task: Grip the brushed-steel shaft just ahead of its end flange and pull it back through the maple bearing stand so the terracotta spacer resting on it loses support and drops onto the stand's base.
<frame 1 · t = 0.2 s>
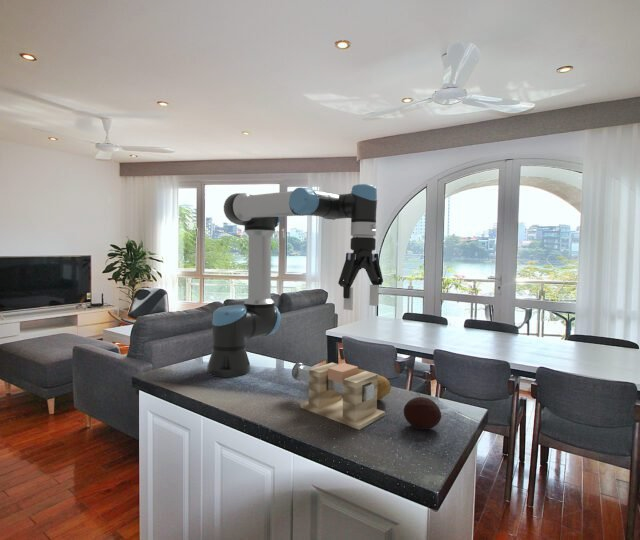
hand: (361, 307, 118), 27 cm above the counter, fingers open, 13 cm apart
potato: (369, 399, 117), on the counter
spacer: (342, 378, 107), point 9 cm above the counter, touching shaft
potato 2: (421, 428, 98), on the counter
bearing stand: (342, 411, 107), on the counter
shaft: (331, 381, 110), point 7 cm above the counter, slide at 0.0 cm, touching spacer
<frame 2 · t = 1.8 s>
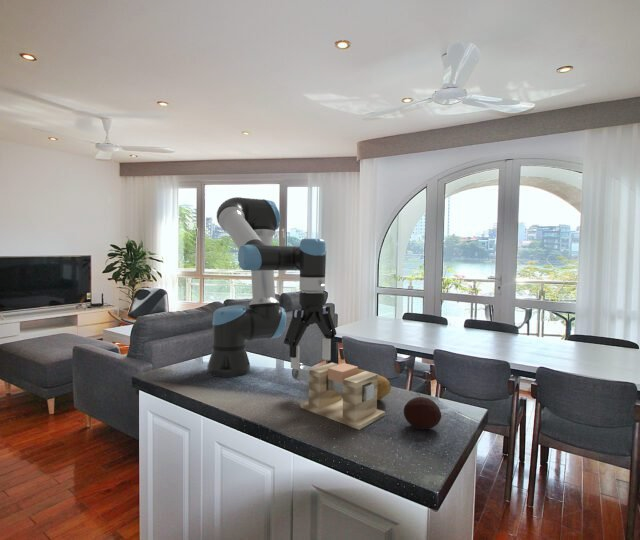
hand: (311, 364, 114), 11 cm above the counter, fingers open, 13 cm apart
nothing on the counter moved.
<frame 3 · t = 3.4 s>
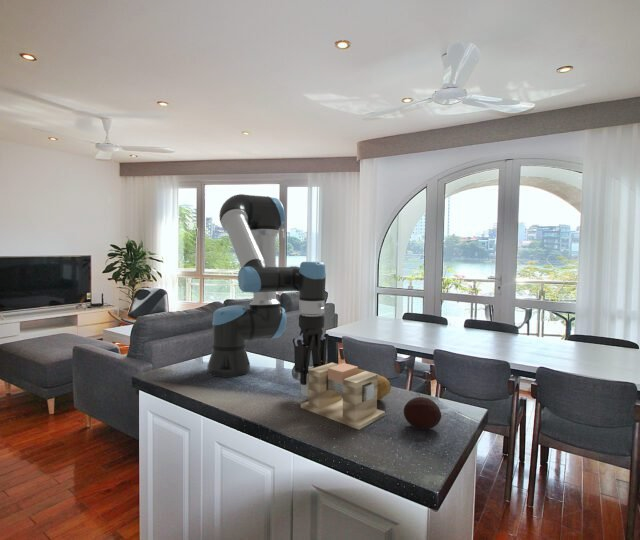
hand: (310, 392, 115), 2 cm above the counter, fingers closed on shaft, 3 cm apart
shaft: (331, 381, 110), point 8 cm above the counter, slide at 0.0 cm, touching gripper, spacer
everything else where it was.
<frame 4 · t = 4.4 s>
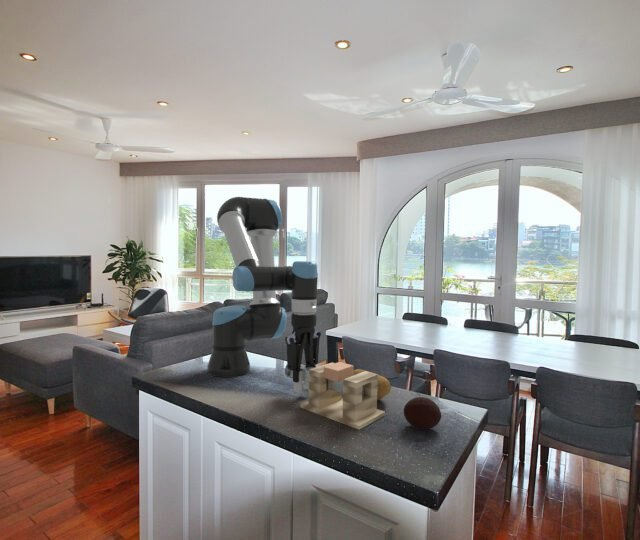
hand: (302, 390, 117), 2 cm above the counter, fingers closed on shaft, 3 cm apart
spacer: (338, 376, 108), point 9 cm above the counter, touching bearing stand, shaft
shaft: (323, 378, 111), point 7 cm above the counter, slide at 3.0 cm, touching gripper, spacer
everything else where it was.
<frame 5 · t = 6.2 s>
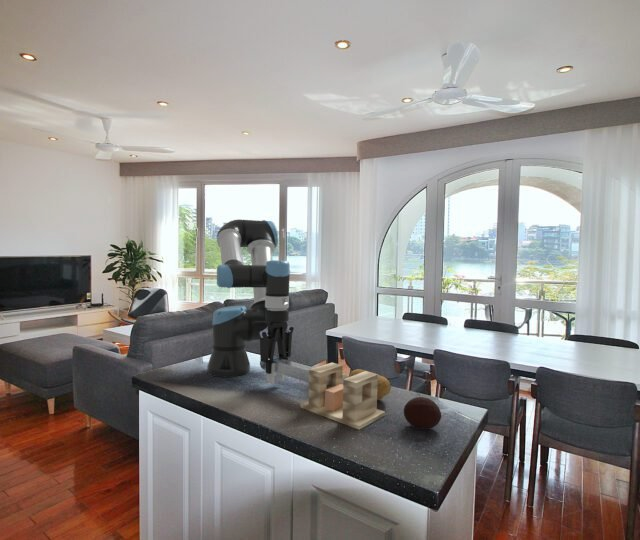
hand: (275, 381, 125), 2 cm above the counter, fingers closed on shaft, 3 cm apart
spacer: (332, 395, 109), point 3 cm above the counter, tilted 90°, touching bearing stand
shaft: (294, 370, 119), point 7 cm above the counter, slide at 14.6 cm, touching gripper
everything else where it was.
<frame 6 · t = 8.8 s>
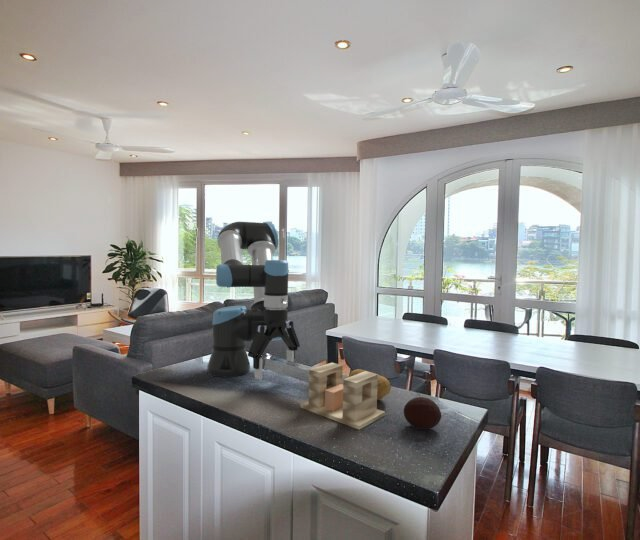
hand: (274, 374, 125), 4 cm above the counter, fingers open, 13 cm apart
shaft: (293, 369, 119), point 8 cm above the counter, slide at 15.2 cm
everything else where it was.
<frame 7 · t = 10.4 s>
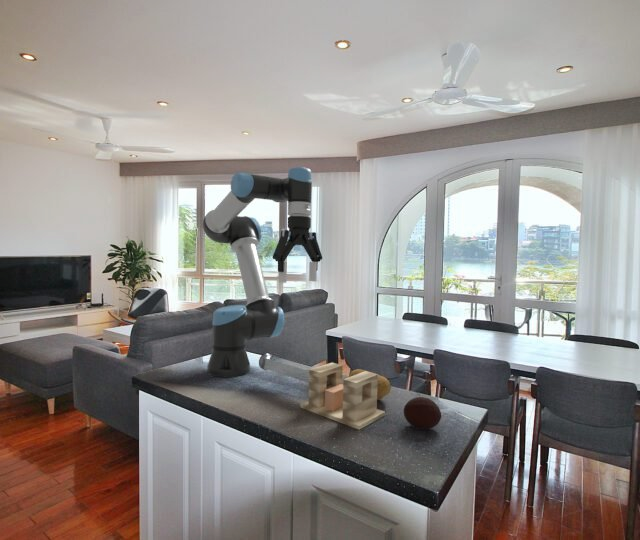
hand: (298, 281, 127), 34 cm above the counter, fingers open, 13 cm apart
nothing on the counter moved.
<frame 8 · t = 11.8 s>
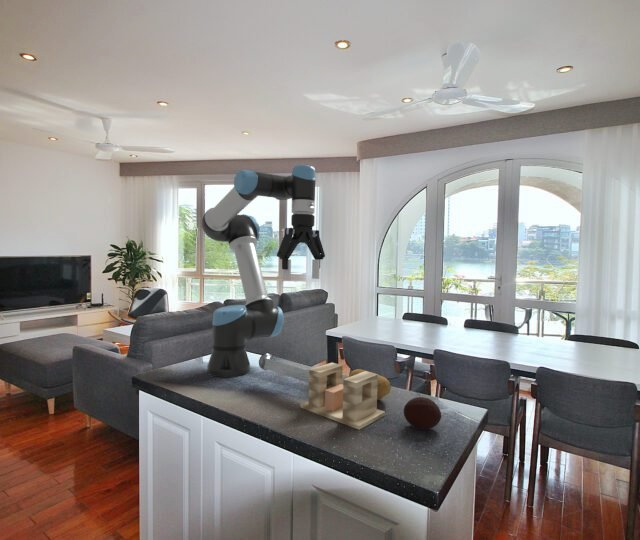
hand: (301, 279, 128), 35 cm above the counter, fingers open, 13 cm apart
nothing on the counter moved.
at the end: shaft slide at 15.2 cm; spacer point 3.5 cm above the counter; spacer inside the target area (4.4 cm from its centre), point 3.5 cm above the counter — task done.
